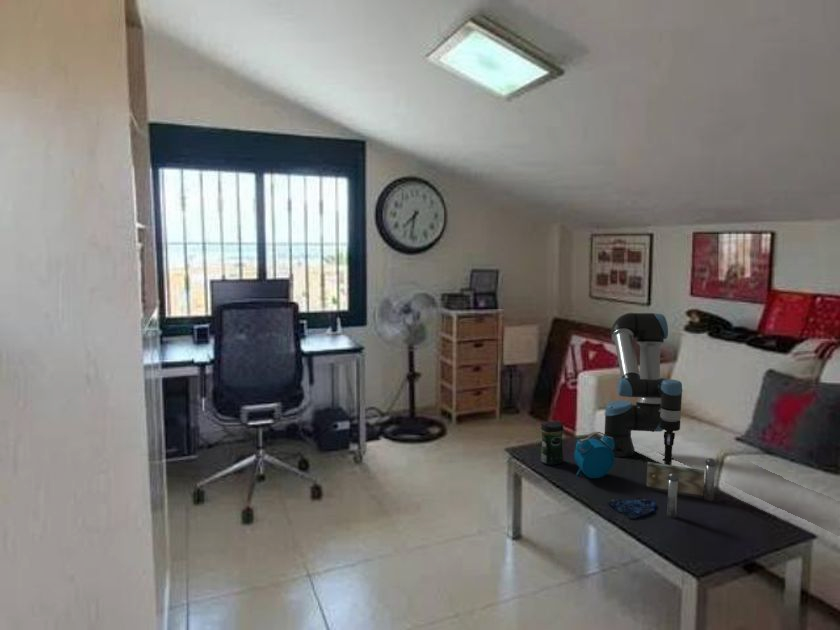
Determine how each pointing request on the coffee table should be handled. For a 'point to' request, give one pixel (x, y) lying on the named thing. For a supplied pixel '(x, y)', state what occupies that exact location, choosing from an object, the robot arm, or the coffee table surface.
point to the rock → (632, 506)
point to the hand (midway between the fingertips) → (667, 476)
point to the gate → (688, 477)
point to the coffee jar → (551, 442)
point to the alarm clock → (594, 456)
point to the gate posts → (674, 486)
